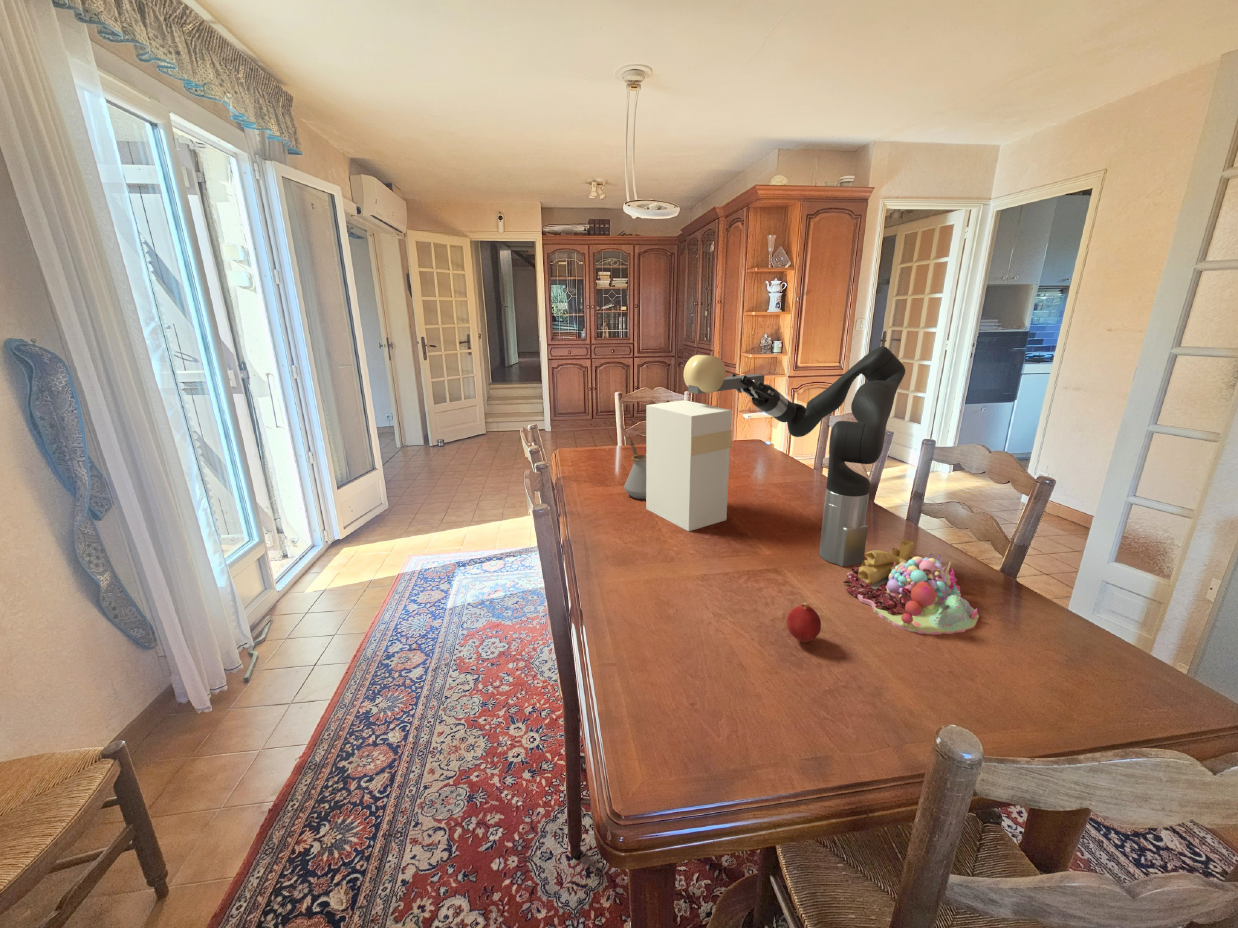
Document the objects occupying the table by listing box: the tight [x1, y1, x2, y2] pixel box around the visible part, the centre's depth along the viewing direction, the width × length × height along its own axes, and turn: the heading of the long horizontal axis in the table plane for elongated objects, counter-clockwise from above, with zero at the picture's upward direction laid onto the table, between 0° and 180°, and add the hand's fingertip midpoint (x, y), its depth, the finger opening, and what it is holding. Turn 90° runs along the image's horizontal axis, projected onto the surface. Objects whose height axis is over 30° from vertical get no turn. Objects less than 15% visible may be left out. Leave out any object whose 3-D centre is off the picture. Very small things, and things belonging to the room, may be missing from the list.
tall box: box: [645, 399, 733, 532], centre depth 146 cm, size 14×20×32 cm
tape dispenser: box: [683, 354, 765, 395], centre depth 146 cm, size 27×6×10 cm, turn 122°
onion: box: [786, 602, 822, 644], centre depth 91 cm, size 6×6×8 cm
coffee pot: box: [623, 439, 646, 500], centre depth 169 cm, size 21×12×15 cm, turn 12°
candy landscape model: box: [842, 539, 980, 636], centre depth 104 cm, size 25×24×9 cm
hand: (736, 377), depth 148 cm, fingers closed on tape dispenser, 4 cm apart
